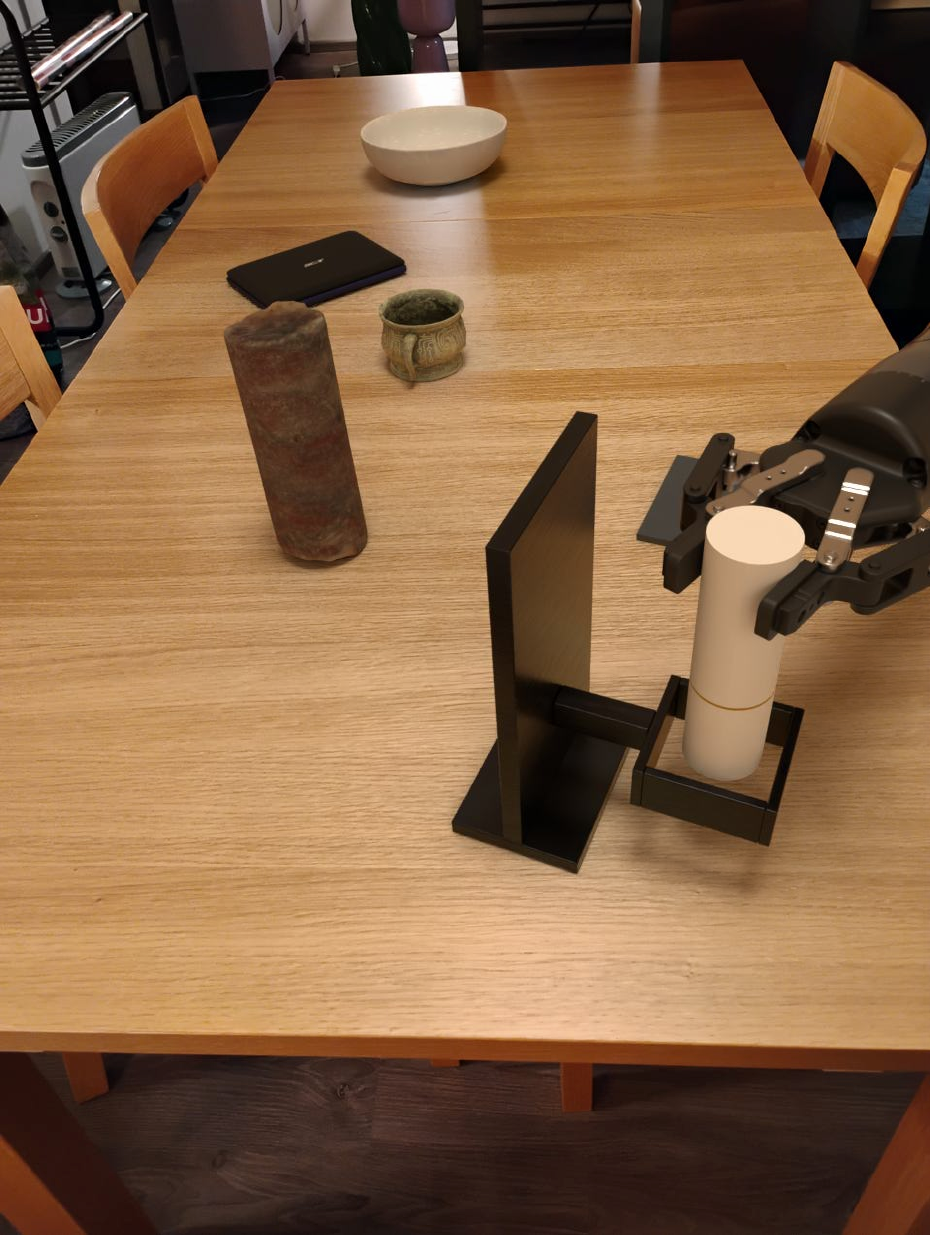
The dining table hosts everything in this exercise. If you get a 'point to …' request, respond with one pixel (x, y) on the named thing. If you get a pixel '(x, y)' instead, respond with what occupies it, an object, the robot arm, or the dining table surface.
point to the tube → (736, 640)
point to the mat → (669, 504)
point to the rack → (578, 690)
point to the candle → (298, 430)
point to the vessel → (423, 333)
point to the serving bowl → (434, 143)
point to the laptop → (316, 270)
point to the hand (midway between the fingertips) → (716, 598)
